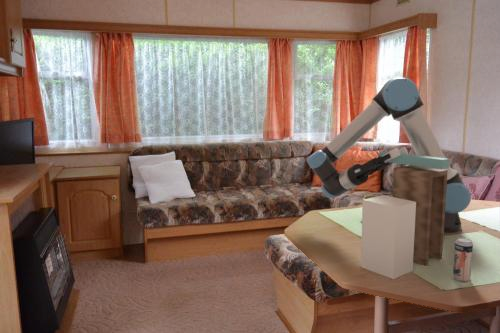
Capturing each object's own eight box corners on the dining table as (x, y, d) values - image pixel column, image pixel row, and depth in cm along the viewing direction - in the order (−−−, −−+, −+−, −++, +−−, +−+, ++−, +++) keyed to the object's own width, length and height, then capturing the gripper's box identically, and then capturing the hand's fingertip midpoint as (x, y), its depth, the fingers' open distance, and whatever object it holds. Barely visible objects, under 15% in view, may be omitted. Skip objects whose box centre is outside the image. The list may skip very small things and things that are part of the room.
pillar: (360, 266, 139) (362, 199, 136) (380, 259, 145) (382, 194, 141) (393, 279, 130) (396, 207, 126) (412, 270, 136) (416, 201, 132)
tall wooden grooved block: (390, 254, 149) (393, 168, 144) (407, 248, 155) (411, 164, 150) (425, 266, 139) (430, 173, 134) (442, 259, 145) (447, 169, 140)
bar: (377, 160, 153) (378, 152, 152) (383, 160, 155) (384, 151, 154) (442, 169, 134) (443, 159, 133) (448, 168, 136) (449, 158, 135)
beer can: (449, 276, 131) (451, 237, 129) (464, 275, 132) (467, 237, 130) (458, 282, 127) (461, 243, 125) (474, 282, 127) (476, 242, 125)
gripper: (372, 182, 168) (421, 158, 150) (342, 189, 159) (391, 163, 140) (364, 165, 170) (412, 138, 152) (335, 170, 160) (382, 142, 142)
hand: (402, 150), depth 146 cm, fingers closed on bar, 3 cm apart
